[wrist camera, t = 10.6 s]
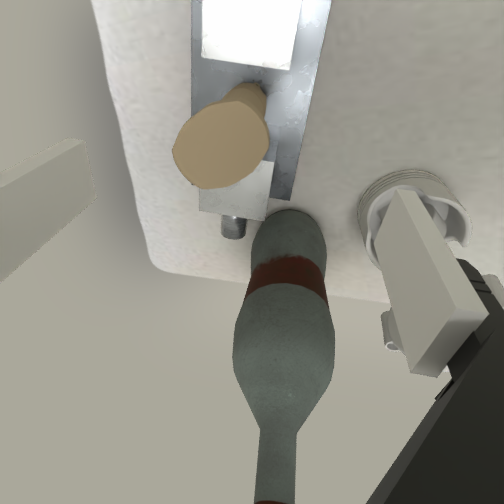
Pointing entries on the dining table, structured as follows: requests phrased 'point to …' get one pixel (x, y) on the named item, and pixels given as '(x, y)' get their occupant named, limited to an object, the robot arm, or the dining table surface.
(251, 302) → the bottle
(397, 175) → the engine component
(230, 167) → the handle
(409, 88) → the dining table surface
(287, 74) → the shaft bed
